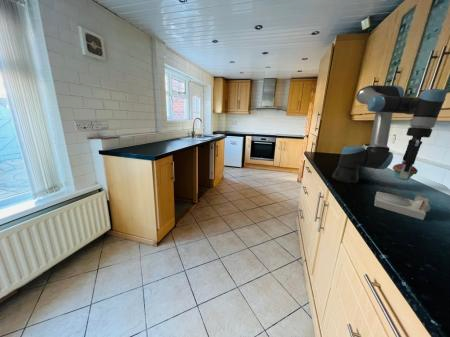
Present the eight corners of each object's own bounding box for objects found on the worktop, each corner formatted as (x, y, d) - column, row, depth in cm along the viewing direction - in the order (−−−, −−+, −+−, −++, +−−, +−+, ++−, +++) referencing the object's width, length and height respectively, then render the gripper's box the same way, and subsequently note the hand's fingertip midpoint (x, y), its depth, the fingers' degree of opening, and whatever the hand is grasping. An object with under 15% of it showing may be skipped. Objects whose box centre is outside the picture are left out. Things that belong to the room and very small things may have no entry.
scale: (375, 196, 102) (379, 182, 99) (421, 208, 91) (428, 193, 88) (374, 205, 90) (379, 190, 87) (427, 221, 79) (435, 204, 76)
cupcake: (414, 179, 87) (424, 155, 84) (412, 183, 82) (422, 156, 78) (391, 174, 93) (399, 151, 90) (387, 177, 88) (396, 152, 85)
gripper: (406, 126, 91) (391, 170, 97) (411, 126, 75) (392, 178, 82) (428, 128, 86) (410, 173, 93) (438, 128, 70) (416, 183, 77)
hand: (402, 176), depth 87 cm, fingers closed on cupcake, 8 cm apart
